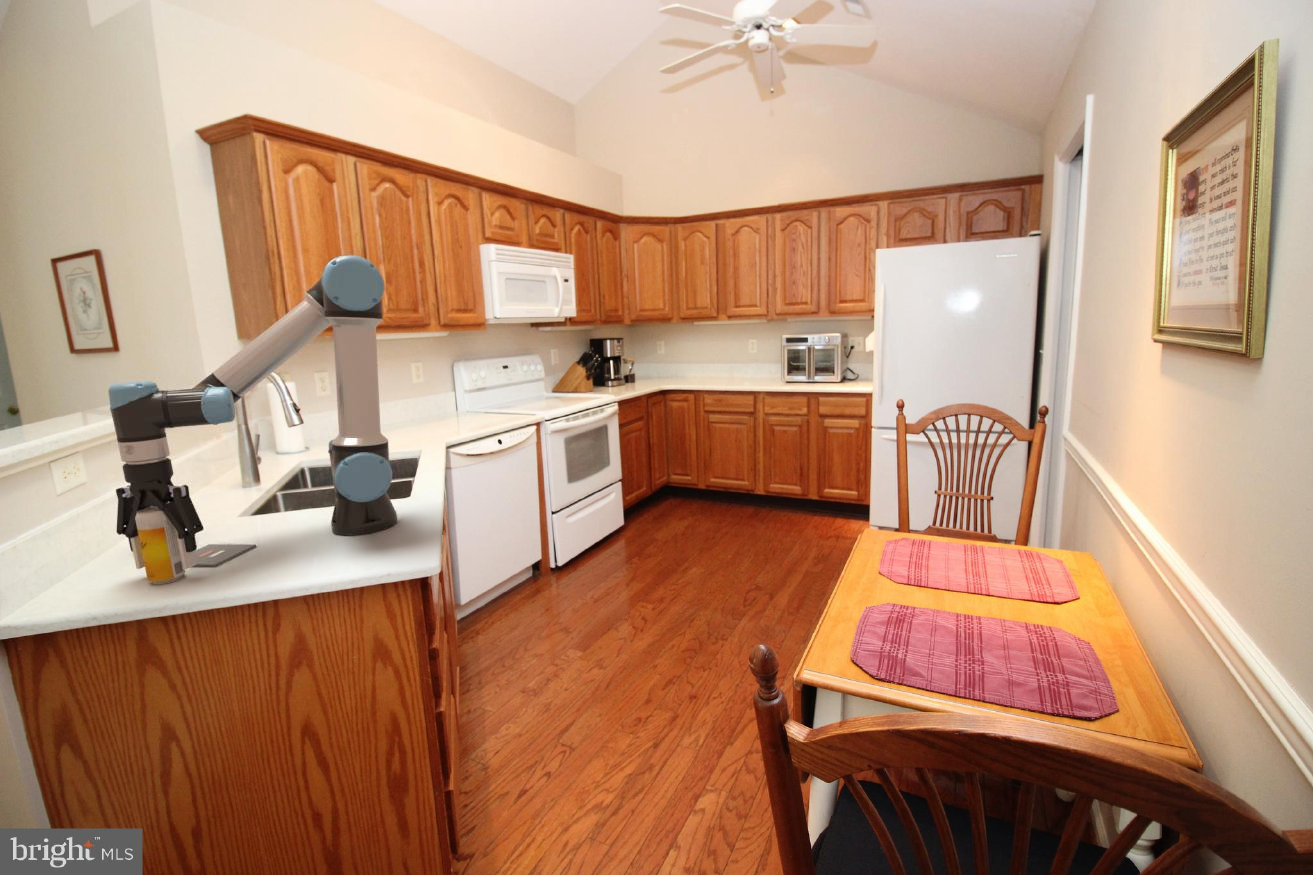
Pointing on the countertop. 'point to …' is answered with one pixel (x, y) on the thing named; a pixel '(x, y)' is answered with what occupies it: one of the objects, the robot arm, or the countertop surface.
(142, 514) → the beer can
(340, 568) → the countertop surface
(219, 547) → the tile
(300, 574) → the countertop surface
